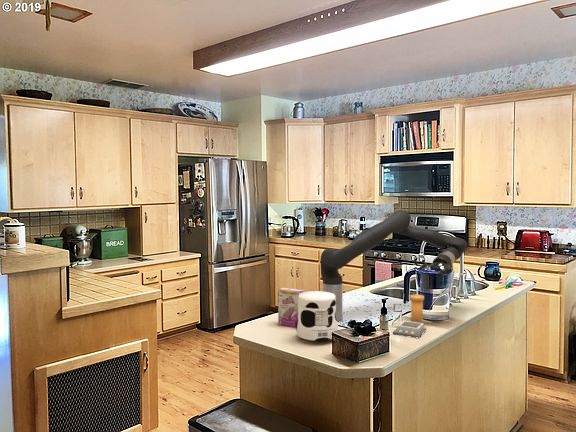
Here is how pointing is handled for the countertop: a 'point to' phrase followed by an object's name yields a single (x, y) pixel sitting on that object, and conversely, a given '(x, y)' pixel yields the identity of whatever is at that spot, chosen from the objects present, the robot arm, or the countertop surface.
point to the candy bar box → (288, 306)
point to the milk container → (316, 316)
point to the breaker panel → (410, 329)
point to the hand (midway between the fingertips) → (429, 275)
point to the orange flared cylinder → (417, 308)
